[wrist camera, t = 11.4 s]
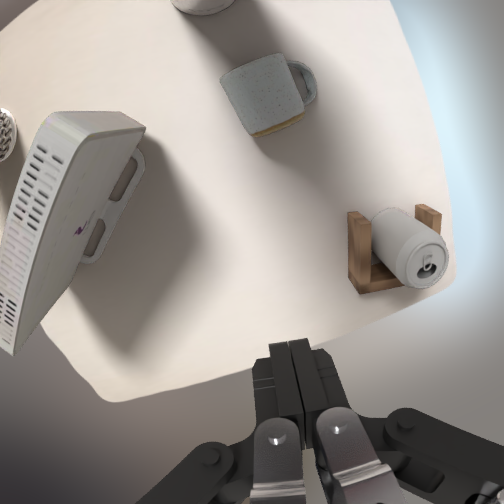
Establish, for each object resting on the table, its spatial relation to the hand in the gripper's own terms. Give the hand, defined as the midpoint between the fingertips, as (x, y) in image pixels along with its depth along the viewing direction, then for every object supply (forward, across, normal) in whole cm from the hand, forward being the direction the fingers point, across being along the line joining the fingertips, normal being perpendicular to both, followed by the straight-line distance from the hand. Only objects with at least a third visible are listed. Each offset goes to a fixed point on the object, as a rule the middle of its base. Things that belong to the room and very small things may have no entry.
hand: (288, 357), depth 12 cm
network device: (+31, +21, -2) cm, 38 cm away
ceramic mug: (+31, -4, -12) cm, 34 cm away
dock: (+31, -19, +10) cm, 38 cm away
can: (+31, -19, +8) cm, 38 cm away
